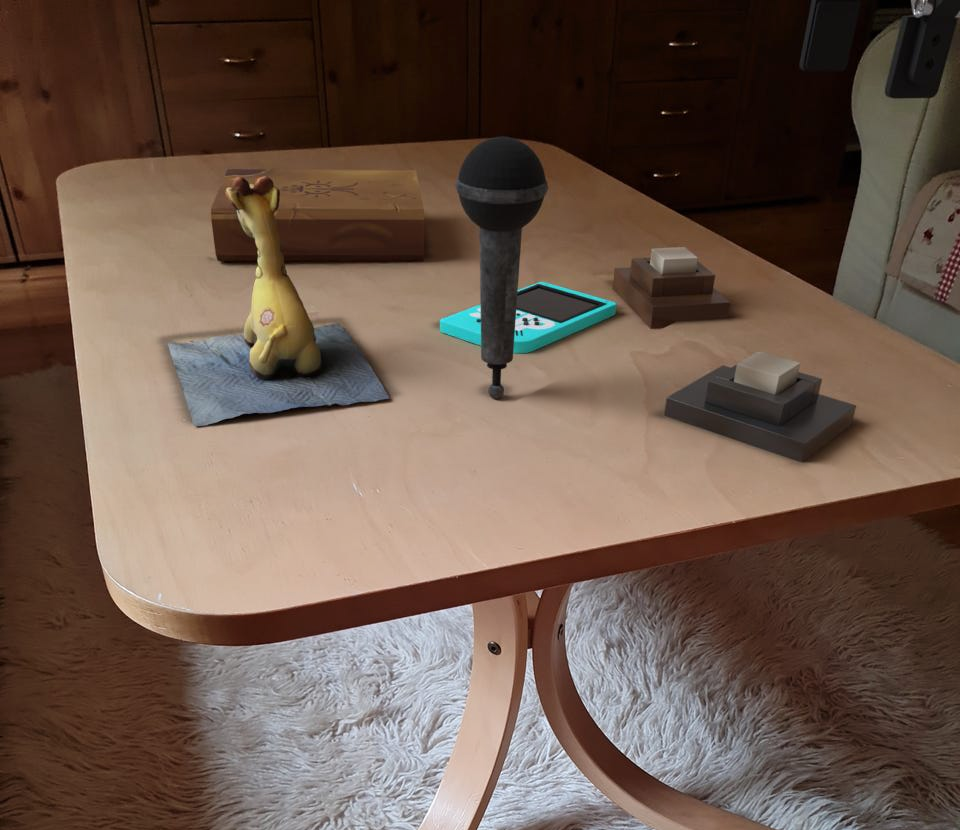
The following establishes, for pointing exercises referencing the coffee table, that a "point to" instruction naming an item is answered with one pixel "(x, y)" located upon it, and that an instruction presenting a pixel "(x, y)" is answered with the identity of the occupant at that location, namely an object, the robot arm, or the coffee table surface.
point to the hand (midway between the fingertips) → (863, 83)
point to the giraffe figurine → (271, 339)
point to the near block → (762, 413)
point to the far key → (673, 260)
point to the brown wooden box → (330, 216)
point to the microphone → (500, 235)
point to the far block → (669, 294)
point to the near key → (767, 372)
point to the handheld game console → (537, 316)
